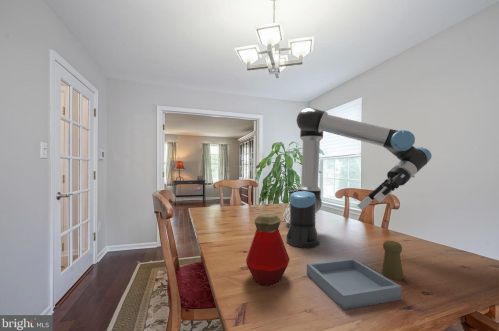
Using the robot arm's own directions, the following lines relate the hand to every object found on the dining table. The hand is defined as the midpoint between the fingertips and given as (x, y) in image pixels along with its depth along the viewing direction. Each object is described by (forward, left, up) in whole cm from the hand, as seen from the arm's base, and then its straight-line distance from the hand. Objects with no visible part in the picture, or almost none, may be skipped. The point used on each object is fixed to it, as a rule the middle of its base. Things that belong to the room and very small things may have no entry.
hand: (367, 204), depth 85 cm
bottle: (-28, -35, -21) cm, 49 cm away
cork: (+7, -13, -21) cm, 26 cm away
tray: (-5, -27, -21) cm, 34 cm away
